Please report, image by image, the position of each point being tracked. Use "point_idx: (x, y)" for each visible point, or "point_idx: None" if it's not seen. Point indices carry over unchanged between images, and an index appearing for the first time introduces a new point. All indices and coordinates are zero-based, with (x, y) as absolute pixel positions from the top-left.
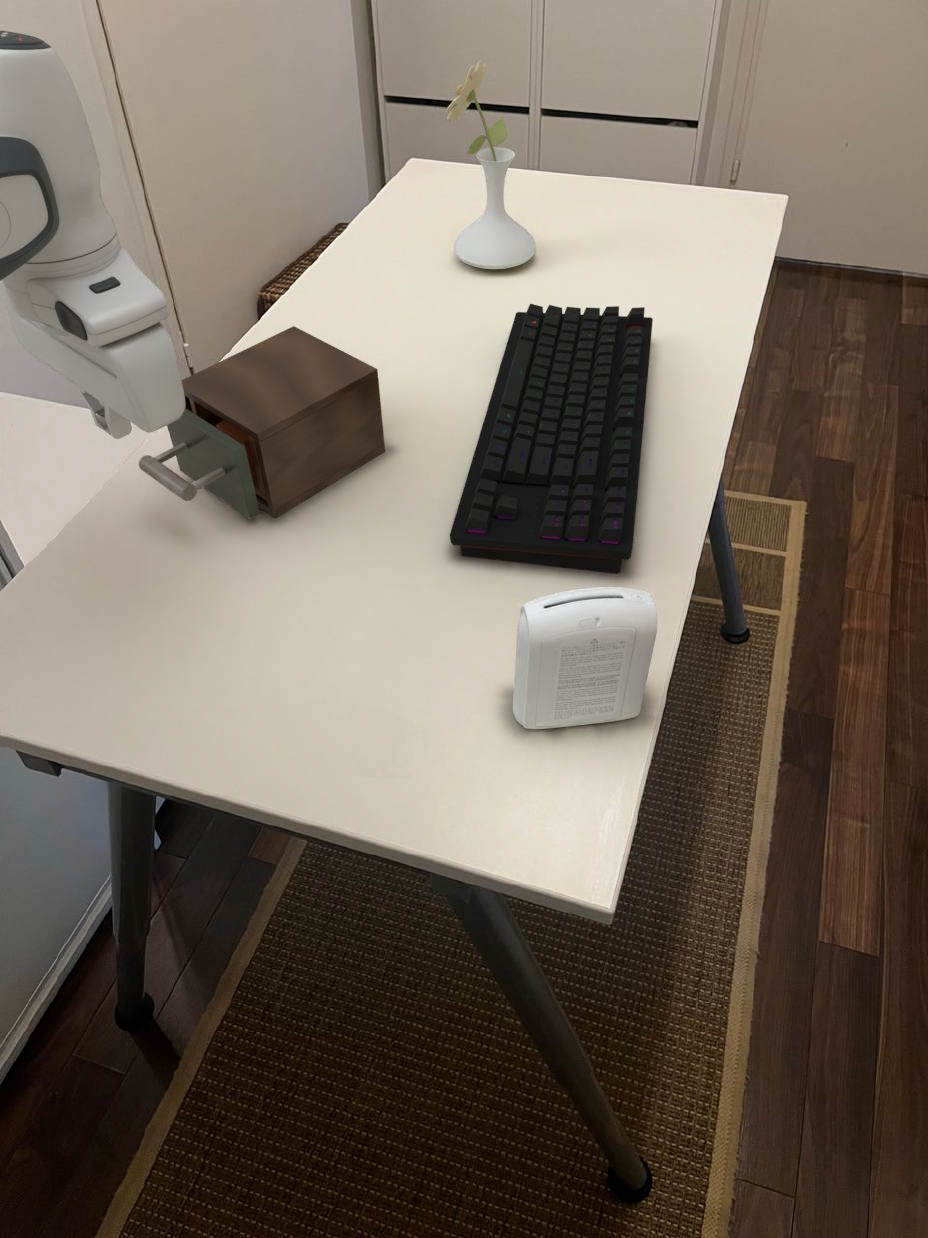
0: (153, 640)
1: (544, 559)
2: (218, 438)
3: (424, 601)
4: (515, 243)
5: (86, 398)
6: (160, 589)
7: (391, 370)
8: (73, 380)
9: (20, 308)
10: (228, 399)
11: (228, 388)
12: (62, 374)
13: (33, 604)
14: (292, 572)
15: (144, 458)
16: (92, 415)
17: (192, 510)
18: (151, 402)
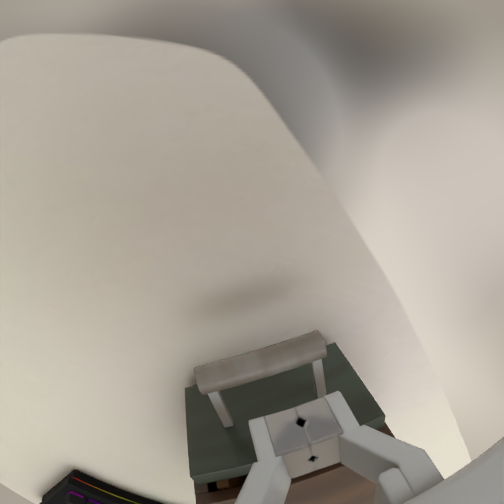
0: (32, 215)
1: (54, 489)
2: (238, 469)
3: (29, 434)
4: None
5: (377, 455)
6: (117, 250)
7: None
8: None
9: None
10: (305, 491)
11: (330, 488)
12: (464, 484)
13: (185, 76)
14: (88, 384)
15: (320, 351)
16: (350, 414)
17: (260, 332)
18: None
